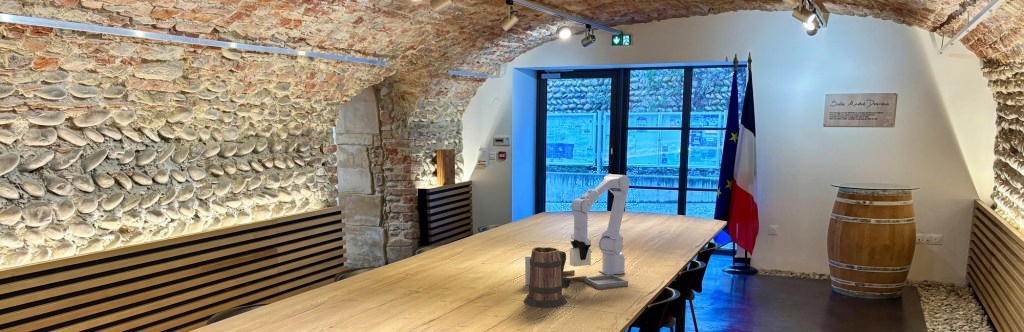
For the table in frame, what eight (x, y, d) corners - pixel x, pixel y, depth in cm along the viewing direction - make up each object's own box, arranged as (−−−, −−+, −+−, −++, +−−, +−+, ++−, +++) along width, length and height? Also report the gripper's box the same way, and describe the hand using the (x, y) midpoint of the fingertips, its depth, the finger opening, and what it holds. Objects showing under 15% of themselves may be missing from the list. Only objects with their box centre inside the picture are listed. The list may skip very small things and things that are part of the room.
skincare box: (541, 283, 270) (541, 255, 269) (538, 286, 266) (538, 257, 265) (528, 282, 272) (528, 254, 271) (524, 284, 268) (524, 256, 267)
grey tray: (612, 279, 277) (613, 274, 277) (628, 285, 266) (628, 281, 266) (584, 282, 272) (584, 277, 272) (598, 289, 261) (598, 284, 260)
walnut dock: (573, 274, 285) (573, 270, 285) (586, 280, 274) (586, 276, 274) (552, 276, 281) (552, 272, 281) (564, 283, 270) (564, 278, 270)
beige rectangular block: (587, 262, 278) (588, 246, 278) (592, 264, 274) (592, 248, 274) (569, 264, 275) (569, 248, 274) (573, 266, 271) (574, 250, 271)
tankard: (549, 310, 232) (550, 256, 231) (514, 302, 243) (513, 250, 241) (586, 296, 250) (586, 246, 248) (551, 289, 261) (551, 240, 259)
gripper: (564, 224, 279) (564, 255, 280) (580, 230, 265) (580, 262, 266) (579, 223, 281) (579, 254, 282) (595, 229, 268) (595, 261, 269)
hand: (580, 258), depth 274 cm, fingers closed on beige rectangular block, 4 cm apart
